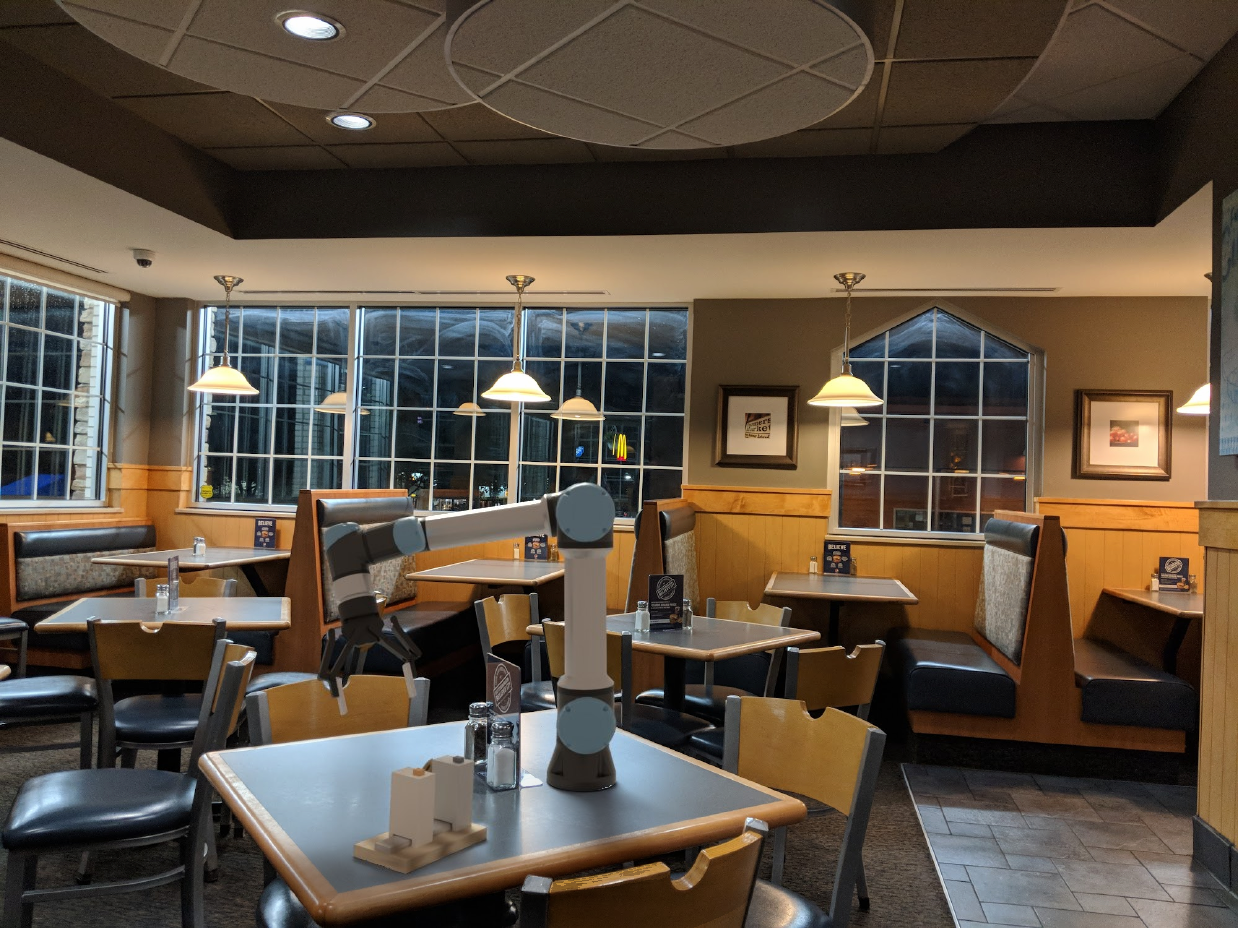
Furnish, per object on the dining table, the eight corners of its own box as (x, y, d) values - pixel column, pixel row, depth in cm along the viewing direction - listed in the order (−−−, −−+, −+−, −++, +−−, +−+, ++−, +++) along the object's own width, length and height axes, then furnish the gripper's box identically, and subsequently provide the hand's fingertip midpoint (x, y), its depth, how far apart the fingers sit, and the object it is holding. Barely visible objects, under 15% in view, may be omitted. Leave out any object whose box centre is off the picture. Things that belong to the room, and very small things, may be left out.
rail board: (436, 823, 173) (437, 807, 173) (486, 838, 166) (487, 821, 166) (353, 856, 156) (354, 837, 156) (405, 873, 149) (406, 854, 150)
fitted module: (429, 823, 167) (432, 754, 168) (444, 817, 170) (447, 750, 171) (456, 831, 164) (459, 761, 164) (471, 825, 167) (474, 756, 168)
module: (388, 839, 159) (391, 767, 159) (405, 832, 162) (408, 762, 163) (415, 847, 155) (419, 774, 156) (432, 841, 159) (435, 768, 159)
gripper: (411, 593, 195) (434, 692, 189) (288, 616, 182) (310, 724, 176) (421, 583, 189) (445, 686, 183) (295, 607, 176) (317, 718, 170)
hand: (379, 705), depth 180 cm, fingers open, 13 cm apart
